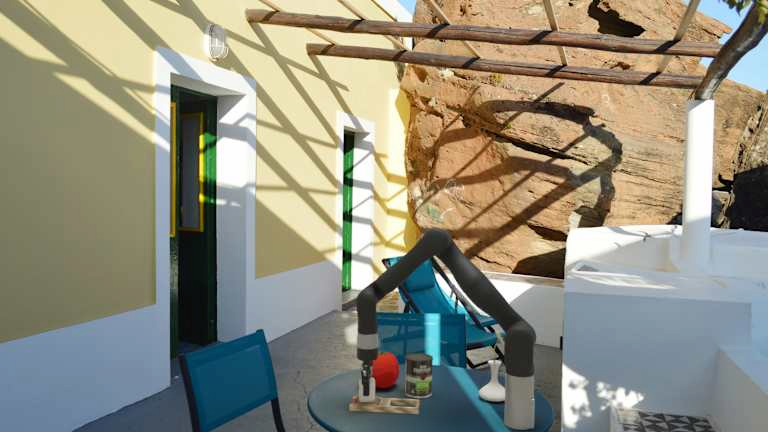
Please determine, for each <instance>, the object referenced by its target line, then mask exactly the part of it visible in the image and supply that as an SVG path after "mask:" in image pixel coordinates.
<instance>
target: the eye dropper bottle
mask: <svg viewBox="0 0 768 432" xmlns="http://www.w3.org/2000/svg"><path fill="white" fill-rule="evenodd" d="M369 376H370V375H369ZM364 382H367V380H364ZM358 396H359V401H360V402H364V403H366V402H373V401H375V397H376V388H375V379H374V378H371V379H370V395H369V396H363V385H362V377H361V378H360V379H359V380H358ZM364 403H363V404H364Z"/></svg>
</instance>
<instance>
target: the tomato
mask: <svg viewBox="0 0 768 432" xmlns="http://www.w3.org/2000/svg"><path fill="white" fill-rule="evenodd" d="M373 363H374V366H373V376H372V378H374V379H375V389H389V388H390V387H391V386H394V384H395V383H396V382H397V381H398V379H399V377H400V364H399V361H398V359H397V357H396V356H395V355H394V354H392V353H391V350H390V351H389V350H388V351H381V350H380V348H378V359H377V360H374V361H373Z"/></svg>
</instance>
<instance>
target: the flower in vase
mask: <svg viewBox="0 0 768 432" xmlns="http://www.w3.org/2000/svg"><path fill="white" fill-rule="evenodd" d="M494 333H495V336H496V337H497V341H496V343H495V345H494V347H493V349H492V353H493V356H492V357H491V358H493V359H491V360H487V363H488V364H489V367H490V373H491V377H490V381H489V382H488V383H487V384H486V385H484V386H483V387H481V388H480V390H479V391H478V393H477V394H478V396H479V397H480V398H482V399H483V400H486V401H489V402H503V401H504V402H505V386H503V385H502V384H501V383H500V382H499V380H498V376H499V375H498V373H499V368H500V366H501V364H502V361H500V360H497V359H495V358H496V357H499V354H498V353H496V351H495V350H496V346H497V344H498V343H500V344H501V346H502V347H503V348H504V341H505V340H504V337H502V336H501V335H500V334H501V333H500V332H499V331H498V329H495V330H494Z"/></svg>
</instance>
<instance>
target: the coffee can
mask: <svg viewBox="0 0 768 432" xmlns="http://www.w3.org/2000/svg"><path fill="white" fill-rule="evenodd" d="M404 358H405V380H404V381H405V382H404V395H405V396H407V397H408V398H412V399H427V398H430V397H432V395H433V361H434V360H433V359H434V357H433V355H431V354H428V353H421V352H415V353H409V354H406V355H405V357H404Z"/></svg>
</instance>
